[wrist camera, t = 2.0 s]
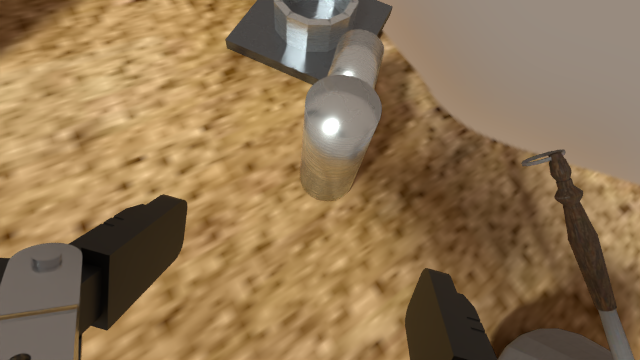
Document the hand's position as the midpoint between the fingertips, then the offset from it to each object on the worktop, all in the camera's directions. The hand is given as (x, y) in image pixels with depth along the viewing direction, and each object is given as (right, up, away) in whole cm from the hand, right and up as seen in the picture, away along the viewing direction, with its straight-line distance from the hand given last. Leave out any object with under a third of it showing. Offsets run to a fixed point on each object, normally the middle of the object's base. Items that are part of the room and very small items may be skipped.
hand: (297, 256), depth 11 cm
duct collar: (0, +20, +29) cm, 35 cm away
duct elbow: (+2, +5, +22) cm, 23 cm away
